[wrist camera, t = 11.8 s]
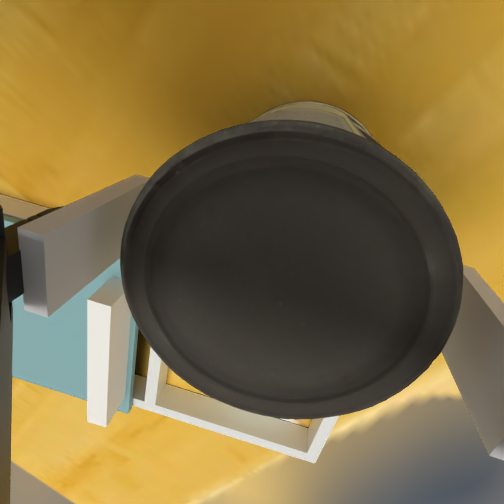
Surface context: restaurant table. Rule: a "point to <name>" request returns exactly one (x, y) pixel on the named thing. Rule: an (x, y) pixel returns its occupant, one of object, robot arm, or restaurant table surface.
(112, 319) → the cover
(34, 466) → the restaurant table surface
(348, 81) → the restaurant table surface
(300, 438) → the sliding panel frame
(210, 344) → the coffee can
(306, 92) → the restaurant table surface
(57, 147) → the restaurant table surface
